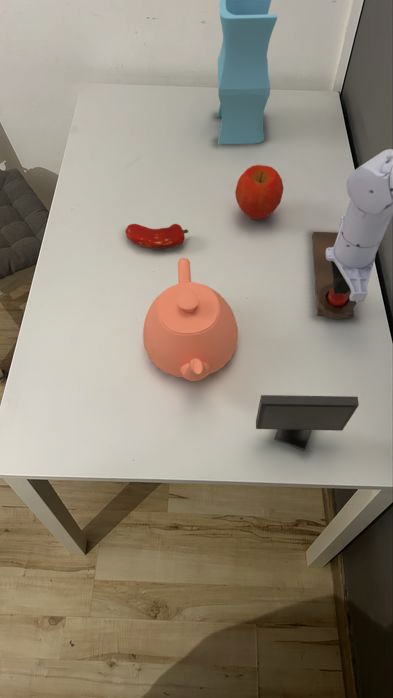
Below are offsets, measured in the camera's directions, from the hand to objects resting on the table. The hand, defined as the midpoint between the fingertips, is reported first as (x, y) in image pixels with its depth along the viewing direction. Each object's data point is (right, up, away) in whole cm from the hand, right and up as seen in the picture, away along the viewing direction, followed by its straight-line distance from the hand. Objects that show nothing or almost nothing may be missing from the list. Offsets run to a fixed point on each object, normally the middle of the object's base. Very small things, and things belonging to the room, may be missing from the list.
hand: (340, 290), depth 81 cm
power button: (0, -1, +2) cm, 3 cm away
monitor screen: (-9, -20, -11) cm, 25 cm away
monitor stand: (-9, -23, -7) cm, 25 cm away
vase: (-14, +38, +28) cm, 49 cm away
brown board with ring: (+1, +4, +8) cm, 8 cm away
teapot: (-24, -9, +1) cm, 26 cm away
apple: (-12, +16, +15) cm, 25 cm away
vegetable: (-31, +10, +12) cm, 35 cm away
